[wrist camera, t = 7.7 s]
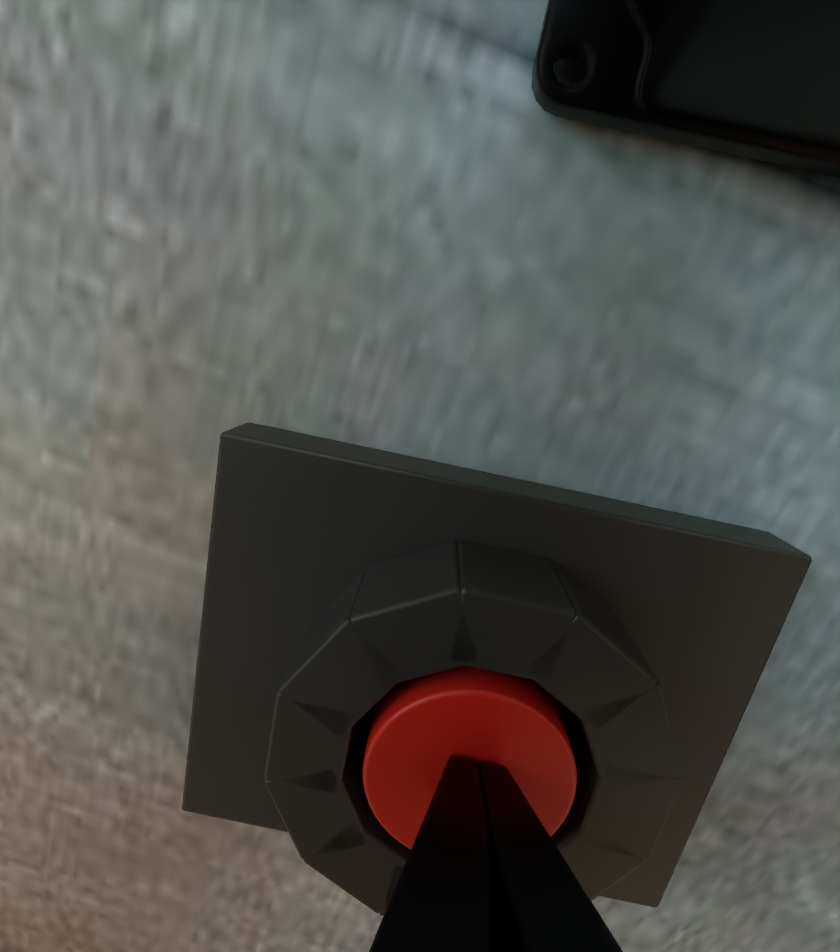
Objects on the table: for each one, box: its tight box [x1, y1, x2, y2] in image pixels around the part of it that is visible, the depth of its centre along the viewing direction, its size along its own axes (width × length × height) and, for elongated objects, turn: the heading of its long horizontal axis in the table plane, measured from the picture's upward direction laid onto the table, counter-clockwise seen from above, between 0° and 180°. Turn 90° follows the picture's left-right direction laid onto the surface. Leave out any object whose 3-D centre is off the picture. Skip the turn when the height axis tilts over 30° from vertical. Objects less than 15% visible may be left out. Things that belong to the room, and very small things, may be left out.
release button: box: [362, 666, 577, 849], centre depth 8 cm, size 3×3×2 cm
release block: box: [182, 423, 812, 916], centre depth 9 cm, size 10×8×3 cm
